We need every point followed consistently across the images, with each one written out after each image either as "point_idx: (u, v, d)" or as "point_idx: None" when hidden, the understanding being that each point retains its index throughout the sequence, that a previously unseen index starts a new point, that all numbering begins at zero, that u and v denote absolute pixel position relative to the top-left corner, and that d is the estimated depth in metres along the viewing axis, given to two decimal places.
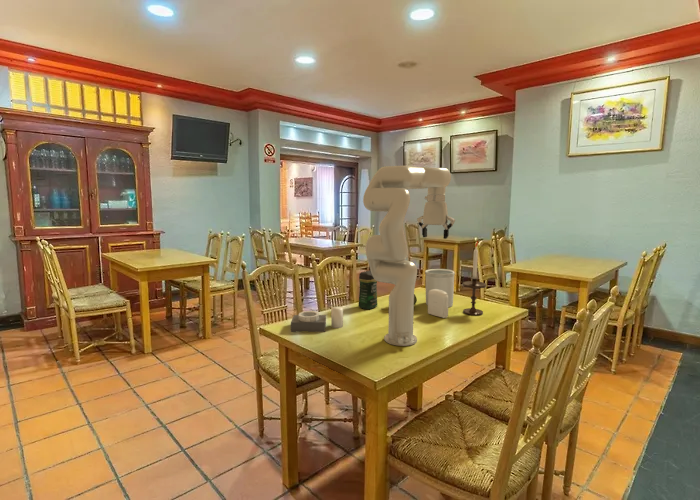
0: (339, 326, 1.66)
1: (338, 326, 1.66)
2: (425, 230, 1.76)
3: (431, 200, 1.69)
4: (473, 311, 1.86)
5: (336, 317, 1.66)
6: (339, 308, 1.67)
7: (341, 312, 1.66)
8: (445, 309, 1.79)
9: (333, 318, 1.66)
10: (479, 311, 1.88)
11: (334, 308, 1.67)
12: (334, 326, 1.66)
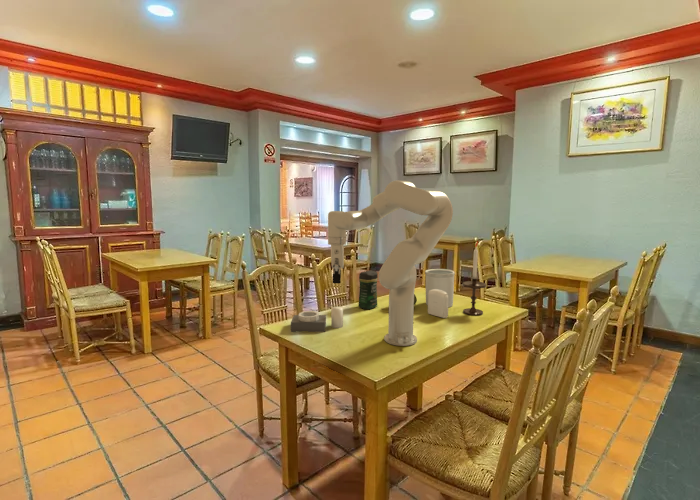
0: (339, 326, 1.66)
1: (338, 326, 1.66)
2: None
3: (345, 242, 1.63)
4: (473, 311, 1.86)
5: (336, 317, 1.66)
6: (339, 308, 1.67)
7: (341, 312, 1.66)
8: (445, 309, 1.79)
9: (333, 318, 1.66)
10: (479, 311, 1.88)
11: (334, 308, 1.67)
12: (334, 326, 1.66)
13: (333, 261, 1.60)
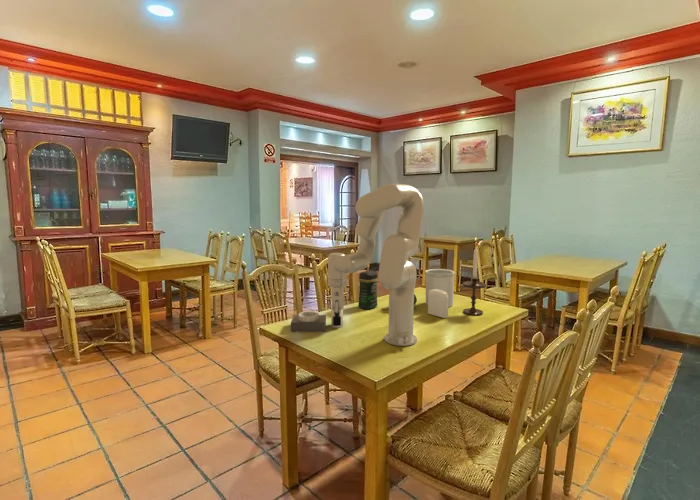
0: (339, 326, 1.66)
1: (338, 326, 1.66)
2: None
3: (345, 283, 1.65)
4: (473, 311, 1.86)
5: None
6: None
7: (341, 312, 1.66)
8: (445, 309, 1.79)
9: None
10: (479, 311, 1.88)
11: None
12: (334, 326, 1.66)
13: (333, 303, 1.62)
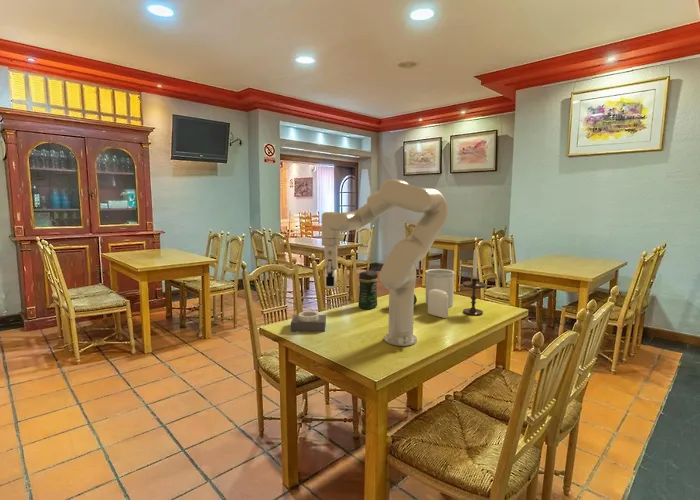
0: (332, 287, 1.64)
1: (331, 287, 1.64)
2: None
3: (339, 243, 1.63)
4: (473, 311, 1.86)
5: None
6: None
7: (334, 272, 1.64)
8: (445, 309, 1.79)
9: None
10: (479, 311, 1.88)
11: None
12: (327, 287, 1.64)
13: (326, 262, 1.59)
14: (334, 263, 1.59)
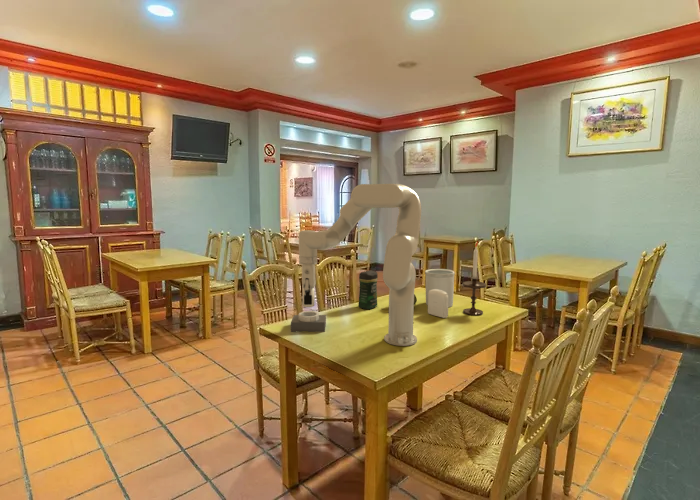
0: (310, 305, 1.63)
1: (309, 305, 1.63)
2: None
3: (316, 261, 1.62)
4: (473, 311, 1.86)
5: None
6: None
7: (312, 291, 1.63)
8: (445, 309, 1.79)
9: None
10: (479, 311, 1.88)
11: None
12: (305, 305, 1.63)
13: (304, 281, 1.59)
14: (311, 282, 1.59)
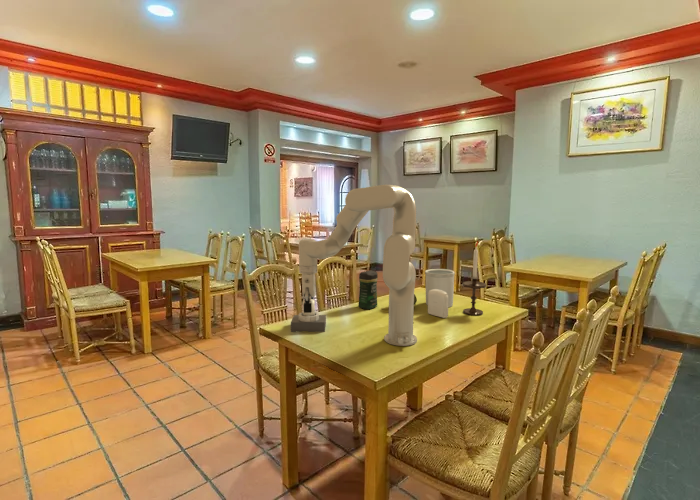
0: None
1: None
2: None
3: (316, 270, 1.63)
4: (473, 311, 1.86)
5: None
6: (311, 300, 1.64)
7: (312, 304, 1.63)
8: (445, 309, 1.79)
9: None
10: (479, 311, 1.88)
11: None
12: None
13: (304, 290, 1.59)
14: (311, 291, 1.59)
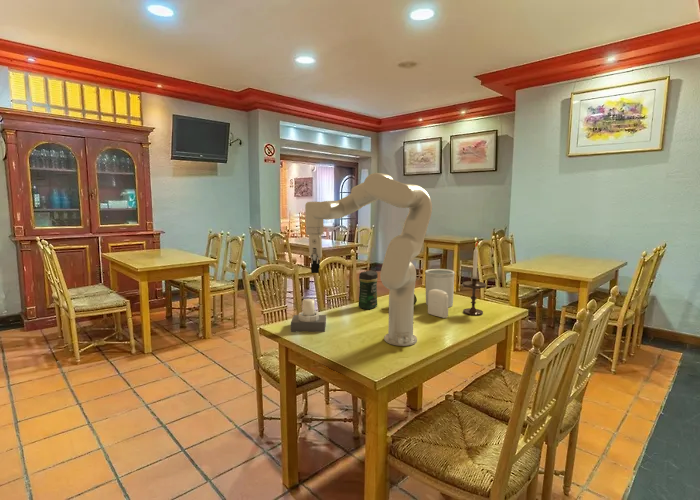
0: None
1: None
2: None
3: (323, 232, 1.65)
4: (473, 311, 1.86)
5: (307, 309, 1.63)
6: (310, 300, 1.64)
7: (312, 304, 1.63)
8: (445, 309, 1.79)
9: (304, 310, 1.63)
10: (479, 311, 1.88)
11: (305, 300, 1.64)
12: None
13: (311, 251, 1.61)
14: (319, 251, 1.61)
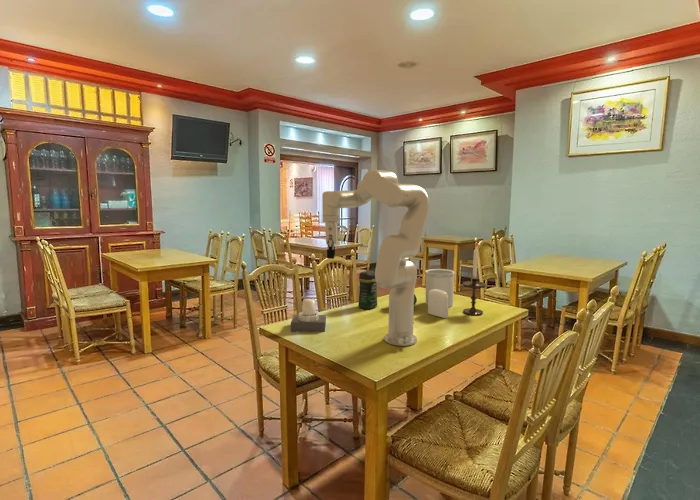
0: None
1: None
2: None
3: (338, 220, 1.75)
4: (473, 311, 1.86)
5: (307, 310, 1.63)
6: (311, 300, 1.64)
7: (312, 304, 1.63)
8: (445, 309, 1.79)
9: (304, 310, 1.63)
10: (479, 311, 1.88)
11: (306, 300, 1.64)
12: None
13: (327, 237, 1.71)
14: (334, 238, 1.72)
